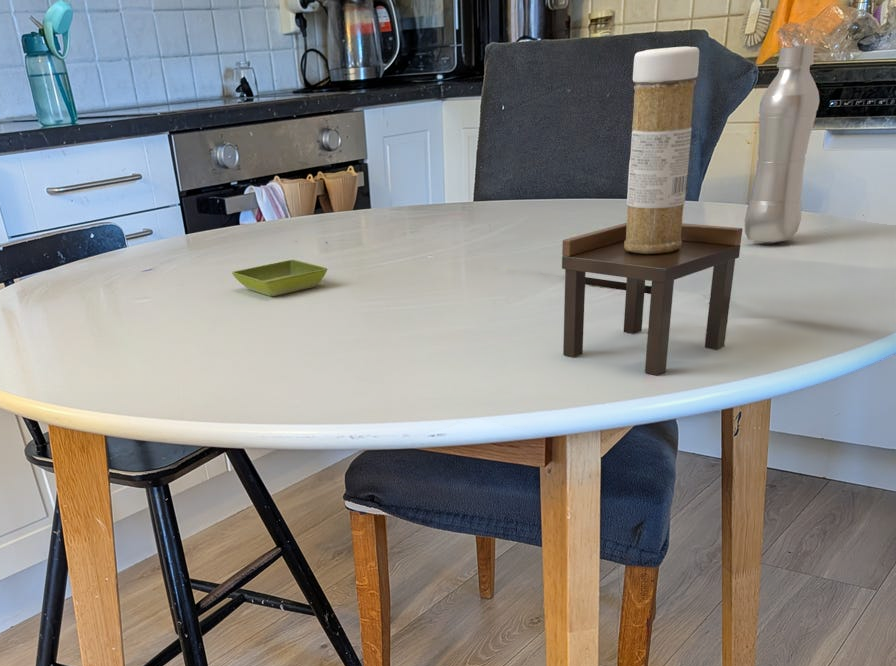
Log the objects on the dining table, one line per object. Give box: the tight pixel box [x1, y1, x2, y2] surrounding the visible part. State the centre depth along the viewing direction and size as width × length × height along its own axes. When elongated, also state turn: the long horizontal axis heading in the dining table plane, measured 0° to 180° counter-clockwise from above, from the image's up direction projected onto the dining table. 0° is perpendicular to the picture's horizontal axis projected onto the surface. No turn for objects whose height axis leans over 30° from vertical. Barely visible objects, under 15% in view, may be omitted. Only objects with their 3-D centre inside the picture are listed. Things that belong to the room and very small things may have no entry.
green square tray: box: [231, 259, 328, 297], centre depth 104 cm, size 9×9×2 cm
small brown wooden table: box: [561, 222, 743, 376], centre depth 72 cm, size 10×10×9 cm
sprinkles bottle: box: [624, 46, 700, 254], centre depth 66 cm, size 5×5×14 cm
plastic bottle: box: [744, 44, 820, 245], centre depth 101 cm, size 6×7×20 cm
